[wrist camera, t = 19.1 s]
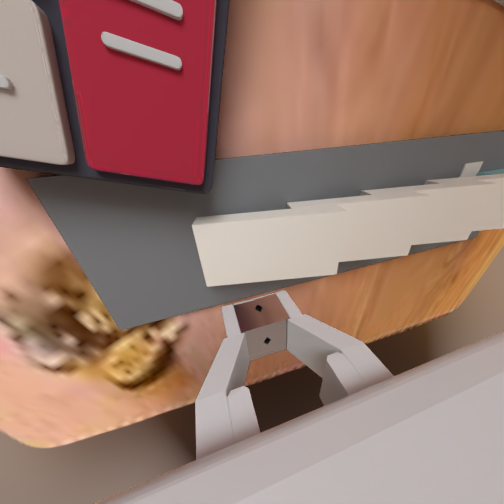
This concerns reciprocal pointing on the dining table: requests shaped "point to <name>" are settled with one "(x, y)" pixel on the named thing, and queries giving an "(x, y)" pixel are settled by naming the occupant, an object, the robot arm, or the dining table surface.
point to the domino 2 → (376, 223)
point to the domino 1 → (270, 244)
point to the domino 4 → (497, 207)
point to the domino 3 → (447, 209)
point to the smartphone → (500, 2)
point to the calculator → (113, 89)
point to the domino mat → (231, 202)
